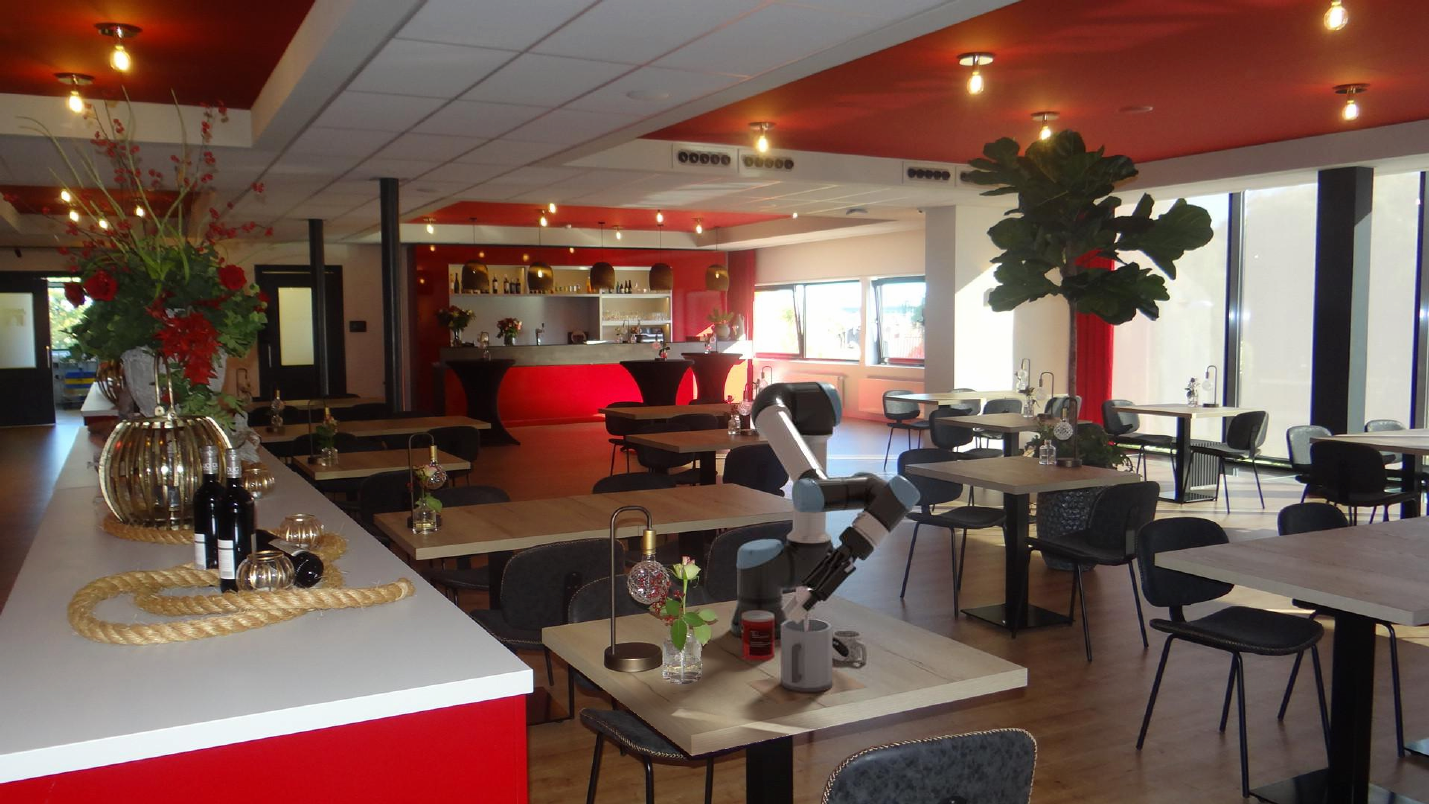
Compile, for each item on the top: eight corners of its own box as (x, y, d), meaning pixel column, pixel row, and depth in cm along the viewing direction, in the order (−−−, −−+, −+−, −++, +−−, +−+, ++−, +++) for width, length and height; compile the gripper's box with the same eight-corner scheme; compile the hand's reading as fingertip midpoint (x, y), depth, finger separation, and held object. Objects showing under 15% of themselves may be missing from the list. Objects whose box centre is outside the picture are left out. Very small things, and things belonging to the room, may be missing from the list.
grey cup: (769, 693, 210) (768, 632, 210) (790, 673, 223) (790, 616, 222) (820, 700, 206) (820, 638, 205) (839, 679, 218) (839, 621, 217)
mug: (826, 660, 235) (826, 633, 235) (847, 655, 239) (847, 628, 239) (855, 672, 227) (855, 643, 227) (876, 666, 231) (876, 638, 230)
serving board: (777, 709, 204) (777, 703, 204) (746, 688, 217) (746, 682, 217) (867, 692, 214) (867, 686, 214) (832, 672, 226) (832, 667, 226)
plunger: (784, 676, 213) (783, 591, 212) (795, 665, 220) (795, 583, 219) (818, 680, 210) (817, 594, 209) (828, 669, 217) (828, 586, 216)
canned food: (756, 653, 242) (756, 608, 241) (781, 660, 236) (781, 614, 235) (734, 660, 236) (734, 614, 236) (759, 668, 230) (759, 621, 230)
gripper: (838, 518, 224) (767, 594, 222) (864, 532, 207) (788, 615, 205) (860, 540, 225) (790, 616, 223) (889, 556, 208) (813, 639, 206)
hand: (789, 616), depth 214 cm, fingers closed on plunger, 4 cm apart
